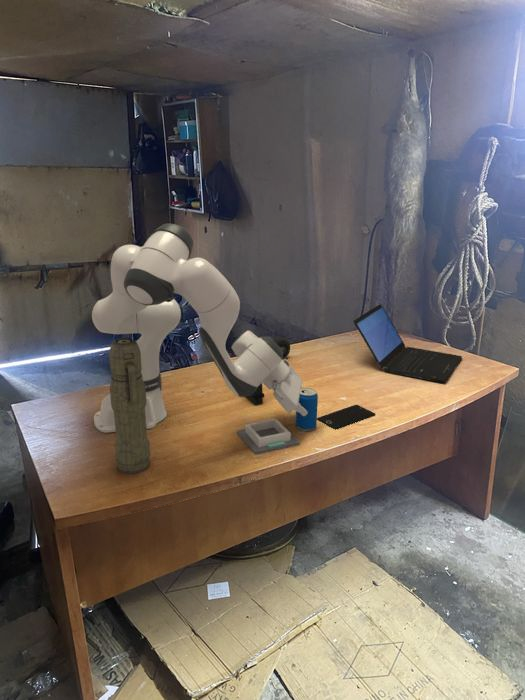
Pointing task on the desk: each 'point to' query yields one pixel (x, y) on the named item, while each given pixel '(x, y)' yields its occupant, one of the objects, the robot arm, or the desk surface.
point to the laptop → (390, 344)
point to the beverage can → (310, 403)
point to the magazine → (257, 396)
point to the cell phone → (345, 416)
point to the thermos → (129, 406)
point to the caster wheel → (283, 346)
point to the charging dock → (267, 436)
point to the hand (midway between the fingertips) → (307, 407)
